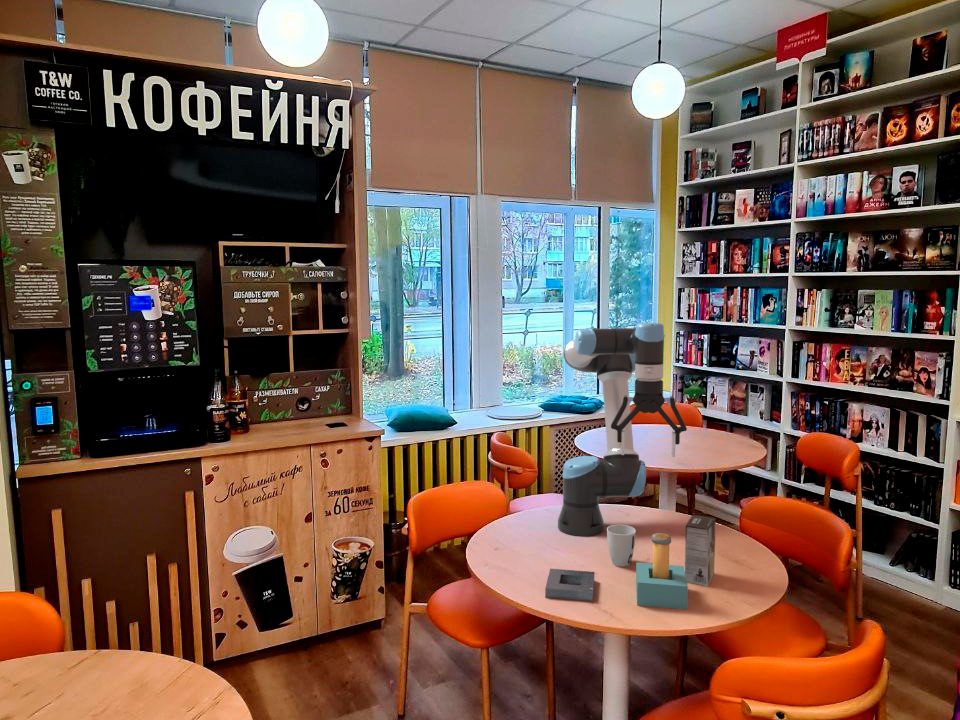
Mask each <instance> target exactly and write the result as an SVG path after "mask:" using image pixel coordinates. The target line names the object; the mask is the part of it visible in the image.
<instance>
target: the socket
mask: <svg viewBox="0 0 960 720" xmlns="http://www.w3.org/2000/svg"><path fill="white" fill-rule="evenodd" d="M635 564H636V566H635V567H636V568H635V569H636V571H635V574H636V575H635V586H636V587H635V588H636V589H635V591H636V606H641V607H650V608H651V607H652V608H665V609H676V610H688V595H689V594H688V592H689V589H688V588H689V586H688V585H689V584H688V582H687V581H686V576H685V566H684V565H671V564H669V580H667V579H654V578H653V563H646V562H645V563H644V562H636V563H635Z"/></svg>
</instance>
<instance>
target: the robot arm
mask: <svg viewBox="0 0 960 720" xmlns="http://www.w3.org/2000/svg"><path fill="white" fill-rule="evenodd" d="M665 338H666V336H665V327H664V324H663V323H660V322H638V323H637V324H636V325H635V326H633V327H625V328H624V327H623V328H622V327H621V328H620V327H619V328H618V327H617V328H616V327H615V328H591V327H588V328H583V329H582V328H579V329H577V330H576V332H575V337H574V340H571V341H570V342H568V344H566V346H565V347H564V350H563V358H564V361H565V363H566V364H567V366H569V367H570V368H572V369H574V370H576V371H578V372H583V373H597V374H596V375H597V379H598V380H599V381H600V382H601V383H602V395H603V407H604V420H605V421H604V422H605V434H606V450H607V451H606V453H605V454H604V455H603V460H602V461H600V459H599V458H598V457H597V456H594V455H591V456H590V455H581V456H577V457H575V456H574V457H572V458H570V459H567V460H566V461H565V463H564V464H563V467H562V468H563V469H562V481H563V482H562V487H563V489H562V501H563V502H562V507H561V510H560V513H559V515H558V519H557V528H558V530H560V531H561V532H563V533H565V534H567V535H572V536H577V537H579V536H581V537H589V536H596V535H598V534H600V533H602V532H603V531H604V530H605V522H604V518H603V515H602V511H601V509H600V506H599V504H600V503H599V502H600V501H599V499H600V498H630V497H631V498H634V497H639V496H642V495H641V494H643V492H644V489H645V486H646V481H647V480H646V479H647V467H646V462H645V461H643V460H641V459H640V455H639V453H638V452H637V451H635V449H634V448H635V447H634V438H633V437H634V436H633V426H632V420H633V419H634V417H635V416H637V415H638V414H639V412H640V413H643V414H647V413H650V414H655V413H658V414H659V415H660V416H661V417H662V419H664V421H665V422H666V423H667V424H668V425H669V427H671V429H672V430H673V431H671V457H672V458H675V457H676V446H677V445H679V444H680V443H681V442H680V441H681V439H680V438H681V436H680V435H681V433H683V432H686V431H687V429H688V428H687V425H686V424H685V422H684V420H683V418H682V416H681V414H680V412H679V410H678V408H677V405H676V400H675V397H674V396H672V395H670V396H669V397H665V396H664V381H663V380H662V379H663V378H664V358H665V357H664V354H665V353H664V352H665V350H664V349H665ZM632 373H634V377H635V378H636V379H635V381H634V395H633V396H630V390H629V380H630V379H631V378H632V376H633V374H632ZM632 402H633V404H634V405H635V406H634V408H633V409H632V411H631V403H632ZM665 403H667V405H668V406H670V407H671V410H672V412H673V414H674V416H675V419H676V420H677V422H678V425H679V426H678V425H677V424H676V423H675V422H674V421H673V419H671V417H670V416H669V415H668V414H667V413H666V411H665V410H664V409H663V407H662V406H663V405H664V404H665Z"/></svg>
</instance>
